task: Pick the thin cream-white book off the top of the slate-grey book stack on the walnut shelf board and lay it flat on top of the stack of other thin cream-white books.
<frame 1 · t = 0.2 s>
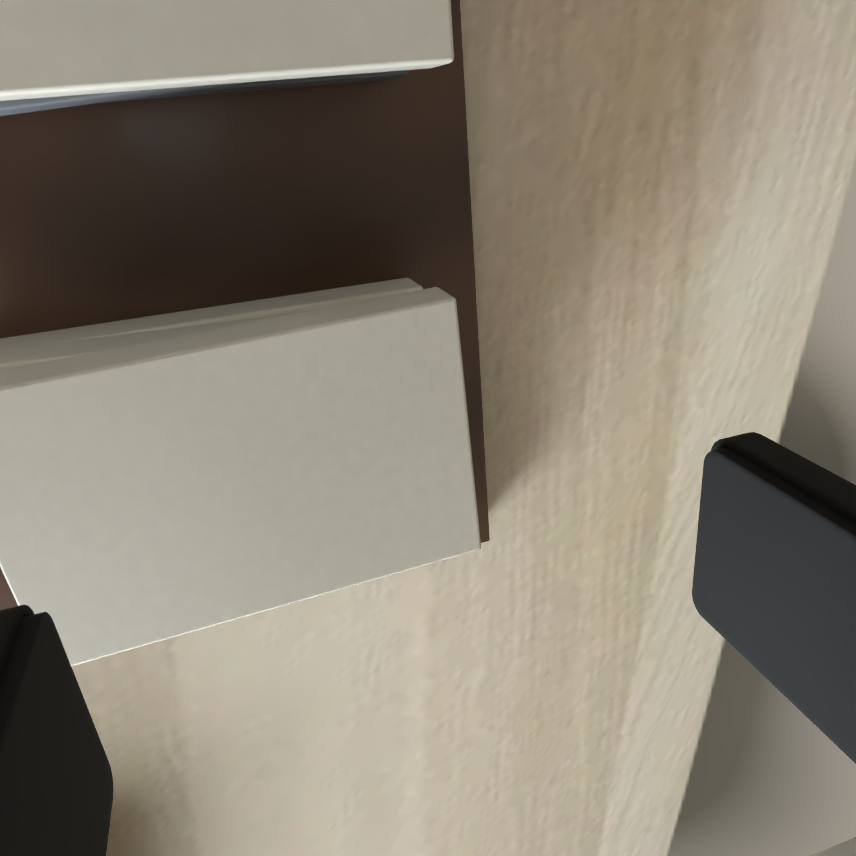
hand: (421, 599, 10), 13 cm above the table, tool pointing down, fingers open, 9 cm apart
shelf board: (189, 204, 18), on the table
white stack: (234, 411, 21), resting on shelf board
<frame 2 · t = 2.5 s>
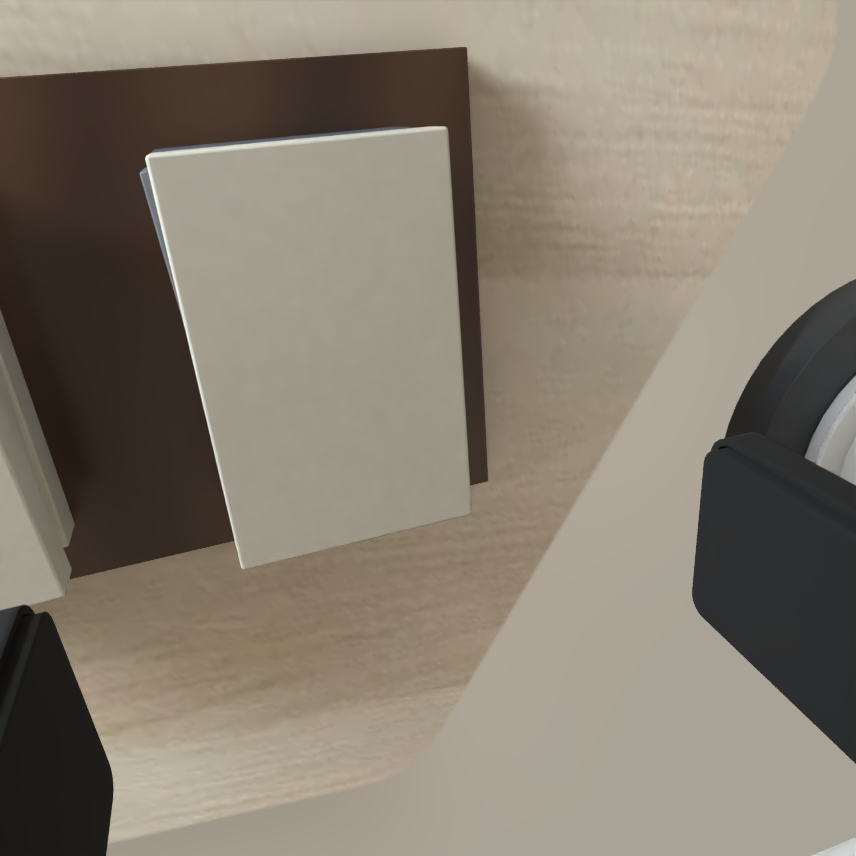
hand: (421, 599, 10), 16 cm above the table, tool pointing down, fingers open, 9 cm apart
shelf board: (114, 341, 22), on the table
grey stack: (302, 311, 24), resting on shelf board
white book: (327, 351, 19), point 5 cm above the table, touching grey stack
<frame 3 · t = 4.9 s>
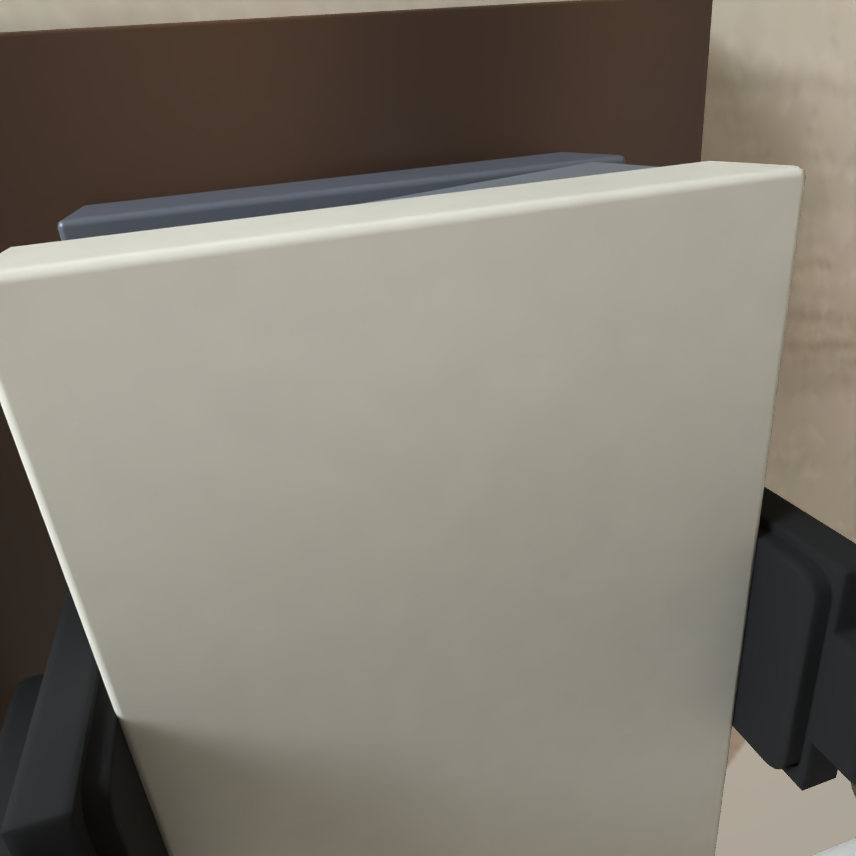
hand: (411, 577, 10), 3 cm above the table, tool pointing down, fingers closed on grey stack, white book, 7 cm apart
shelf board: (26, 552, 12), on the table
grey stack: (369, 477, 13), resting on shelf board
white book: (442, 642, 9), point 5 cm above the table, touching gripper
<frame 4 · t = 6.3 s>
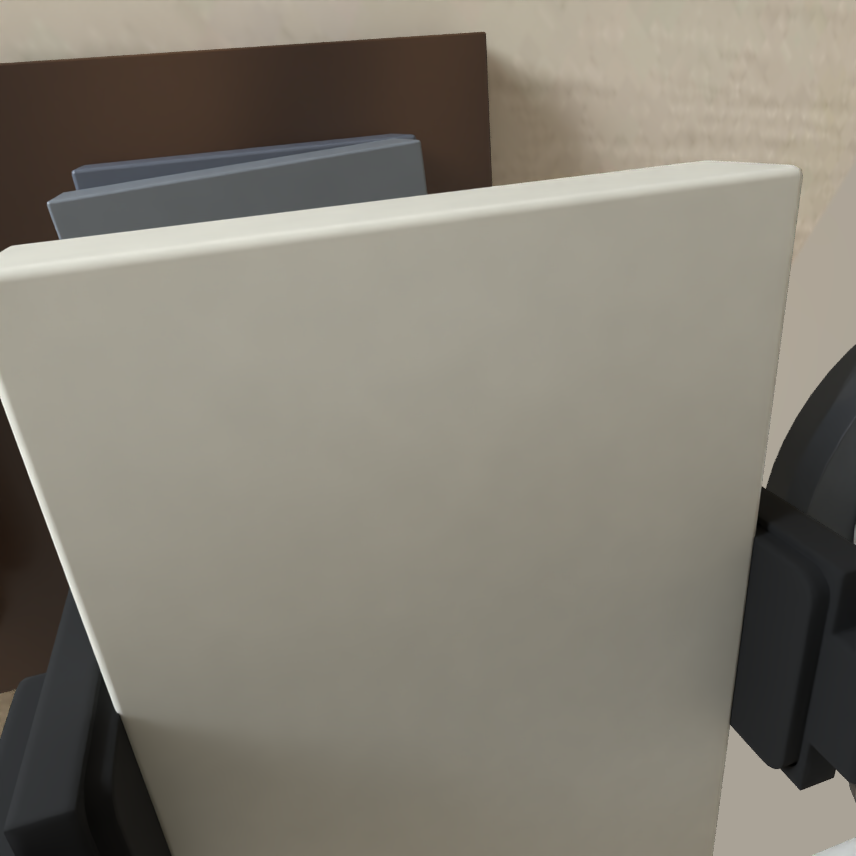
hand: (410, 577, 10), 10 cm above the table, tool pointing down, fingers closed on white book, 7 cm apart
shelf board: (44, 404, 18), on the table
grey stack: (281, 361, 19), resting on shelf board
white book: (441, 640, 9), point 12 cm above the table, touching gripper
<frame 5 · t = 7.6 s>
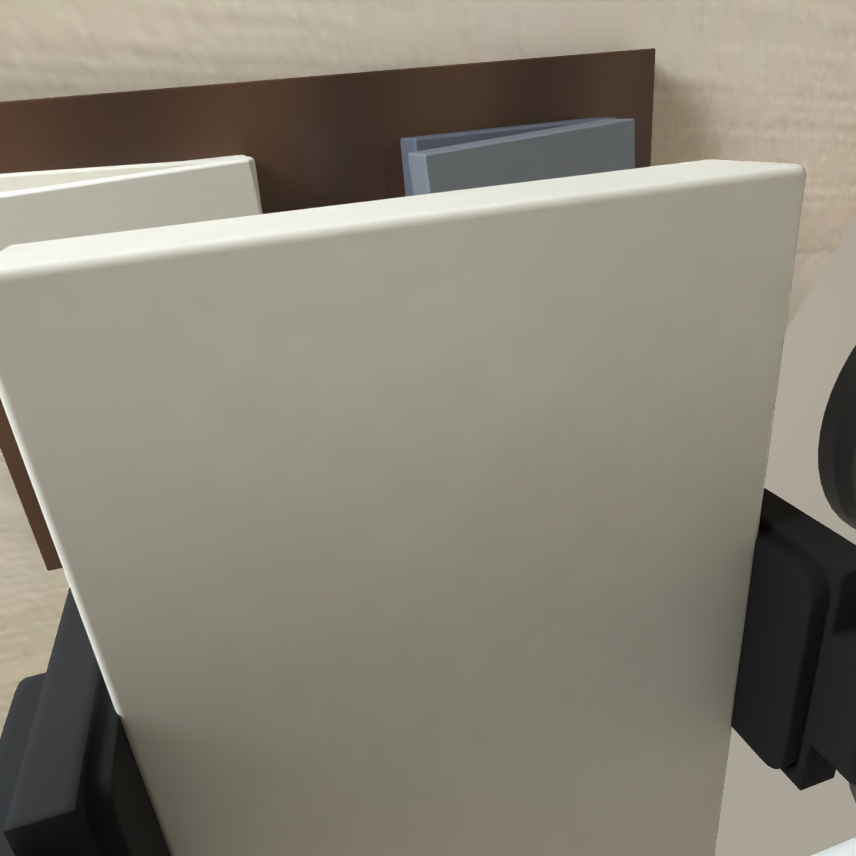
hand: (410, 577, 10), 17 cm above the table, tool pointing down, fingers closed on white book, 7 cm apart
shelf board: (341, 305, 25), on the table
grey stack: (493, 281, 27), resting on shelf board
white stack: (172, 333, 24), resting on shelf board
white book: (443, 640, 9), point 18 cm above the table, touching gripper
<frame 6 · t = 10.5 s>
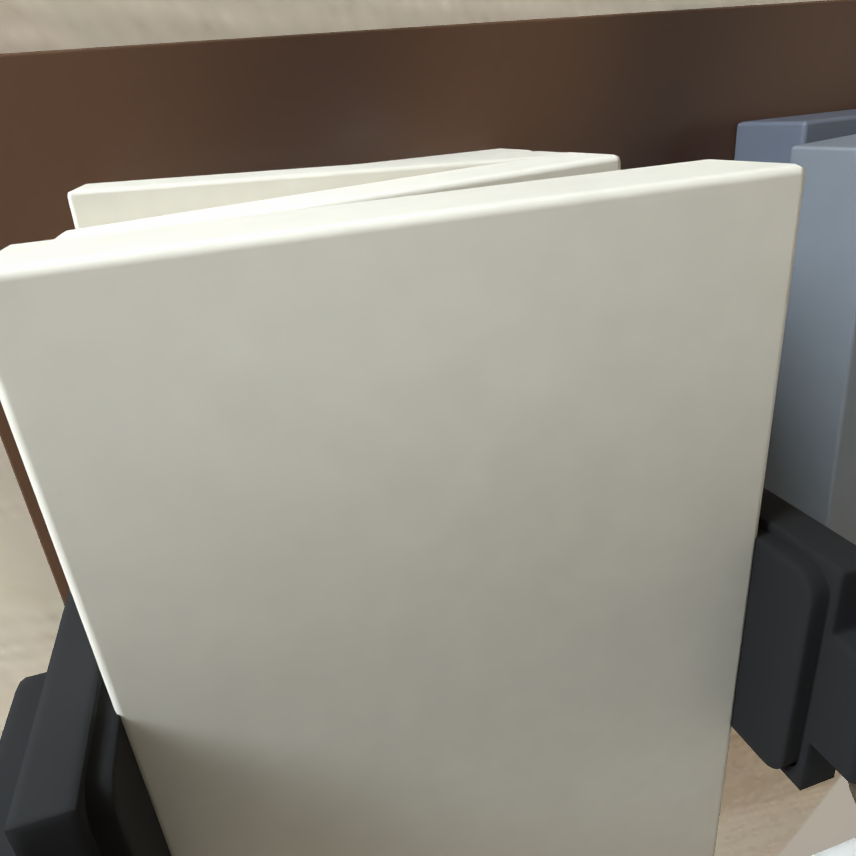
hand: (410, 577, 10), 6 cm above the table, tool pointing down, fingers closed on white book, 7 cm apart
shelf board: (589, 383, 17), on the table
grey stack: (797, 341, 18), resting on shelf board
white stack: (342, 433, 15), resting on shelf board
white book: (442, 640, 9), point 7 cm above the table, touching gripper
when the fingers open (6 cm above the table, at t = 10.7 s): white book drops 2 cm, resting on white stack.
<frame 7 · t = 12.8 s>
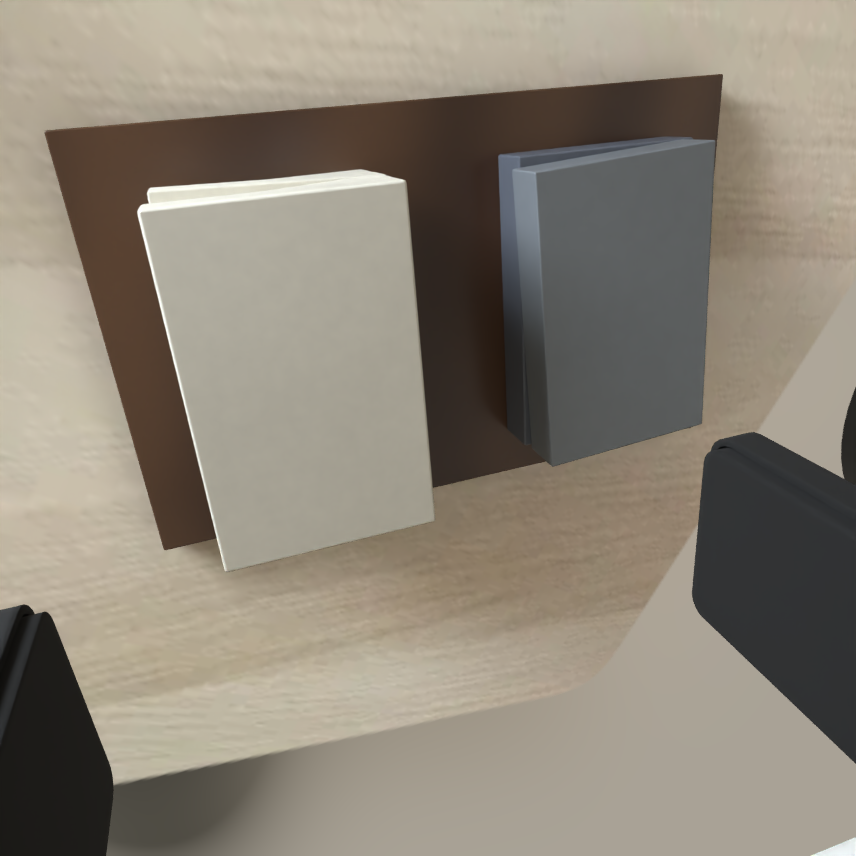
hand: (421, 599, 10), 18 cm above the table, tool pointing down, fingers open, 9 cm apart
shelf board: (432, 306, 28), on the table
grey stack: (567, 284, 29), resting on shelf board
white stack: (282, 331, 26), resting on shelf board
white book: (302, 375, 21), point 5 cm above the table, touching white stack
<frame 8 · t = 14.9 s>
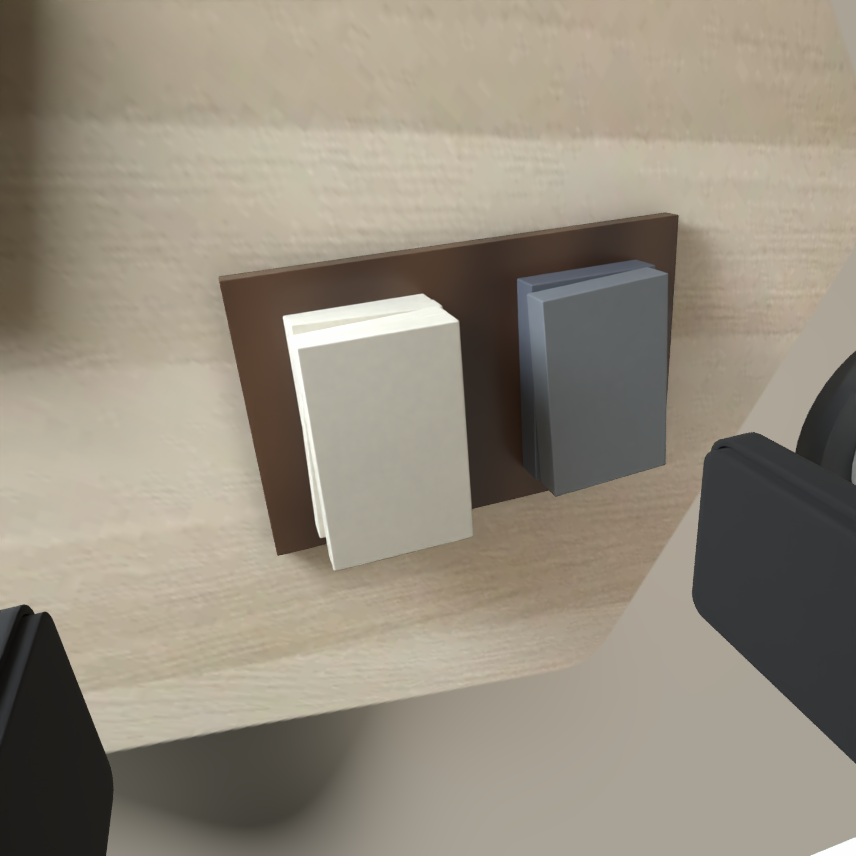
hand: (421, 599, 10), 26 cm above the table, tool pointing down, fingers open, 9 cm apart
shelf board: (468, 379, 38), on the table
grey stack: (567, 360, 40), resting on shelf board
white stack: (363, 400, 37), resting on shelf board
white book: (386, 439, 32), point 5 cm above the table, touching white stack
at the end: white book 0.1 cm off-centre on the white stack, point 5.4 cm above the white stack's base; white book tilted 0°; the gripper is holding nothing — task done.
